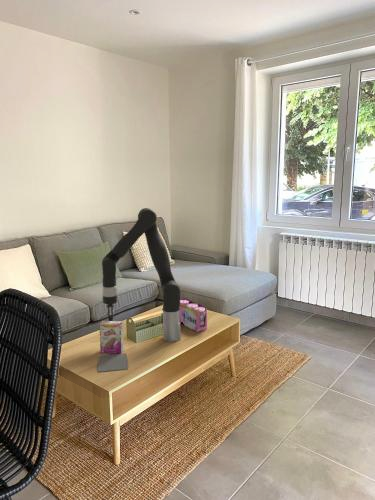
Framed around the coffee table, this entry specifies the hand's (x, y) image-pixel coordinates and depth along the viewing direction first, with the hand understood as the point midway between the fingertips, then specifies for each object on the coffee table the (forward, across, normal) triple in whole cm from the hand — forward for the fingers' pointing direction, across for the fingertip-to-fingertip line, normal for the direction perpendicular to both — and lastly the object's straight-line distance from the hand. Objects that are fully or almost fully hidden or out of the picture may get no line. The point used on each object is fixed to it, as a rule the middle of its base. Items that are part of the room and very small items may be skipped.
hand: (110, 324), depth 209 cm
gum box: (+11, +18, -48) cm, 53 cm away
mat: (+12, -20, 0) cm, 24 cm away
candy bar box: (+12, -9, 0) cm, 15 cm away
